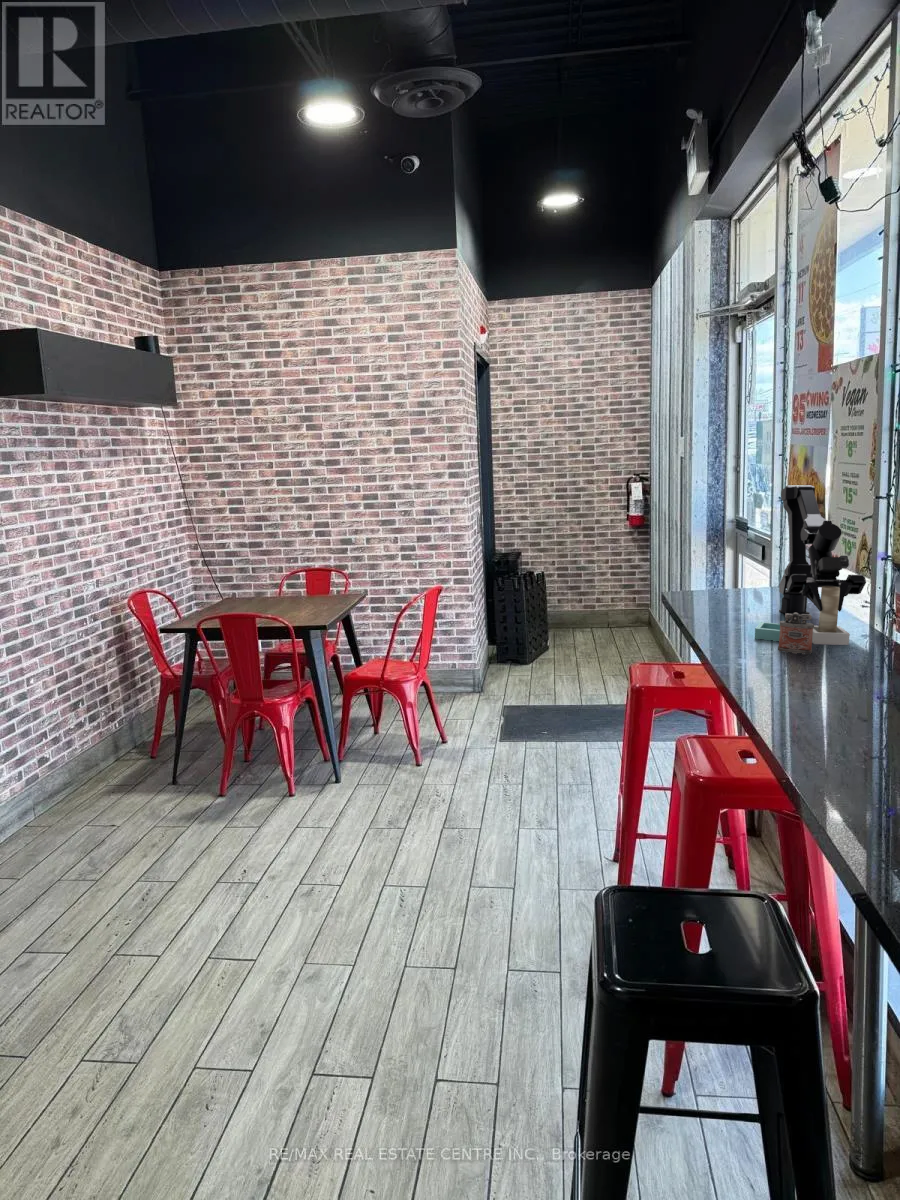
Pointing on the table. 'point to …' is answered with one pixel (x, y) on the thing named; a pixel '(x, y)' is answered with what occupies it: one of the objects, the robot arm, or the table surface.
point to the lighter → (796, 634)
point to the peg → (829, 609)
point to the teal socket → (767, 631)
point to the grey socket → (830, 637)
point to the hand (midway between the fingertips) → (830, 610)
